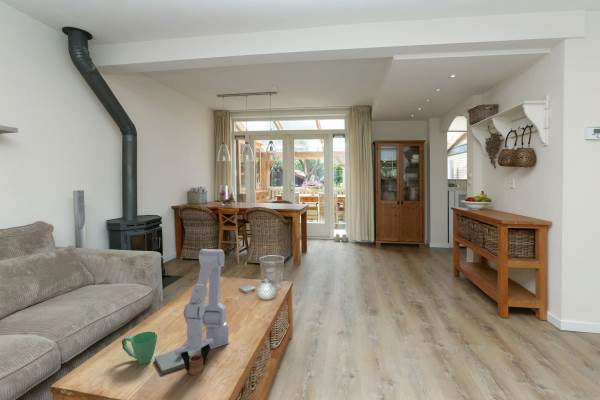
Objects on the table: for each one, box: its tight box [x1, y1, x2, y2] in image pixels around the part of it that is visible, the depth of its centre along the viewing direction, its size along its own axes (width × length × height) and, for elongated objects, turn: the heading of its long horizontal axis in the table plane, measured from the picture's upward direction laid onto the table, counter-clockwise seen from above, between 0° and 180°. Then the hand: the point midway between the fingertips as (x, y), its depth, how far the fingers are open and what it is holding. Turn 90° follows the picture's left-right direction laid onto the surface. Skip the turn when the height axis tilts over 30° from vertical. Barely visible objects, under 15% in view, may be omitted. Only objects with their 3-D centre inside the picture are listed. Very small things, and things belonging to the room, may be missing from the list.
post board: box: [154, 346, 209, 375], centre depth 134 cm, size 18×12×5 cm, turn 127°
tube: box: [186, 354, 204, 376], centre depth 126 cm, size 6×6×5 cm
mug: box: [121, 331, 158, 365], centre depth 133 cm, size 15×10×10 cm
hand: (195, 367), depth 126 cm, fingers closed on tube, 6 cm apart
